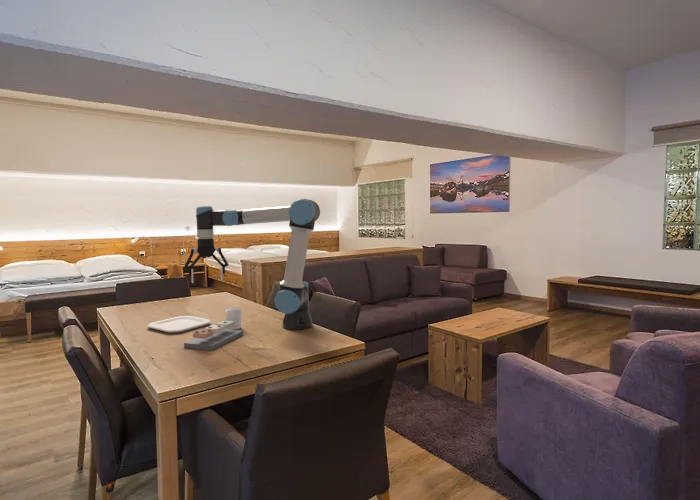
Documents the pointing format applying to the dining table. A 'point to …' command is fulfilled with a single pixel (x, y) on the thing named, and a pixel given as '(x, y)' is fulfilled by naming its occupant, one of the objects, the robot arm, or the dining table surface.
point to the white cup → (234, 316)
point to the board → (214, 340)
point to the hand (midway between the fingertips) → (207, 281)
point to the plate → (179, 324)
